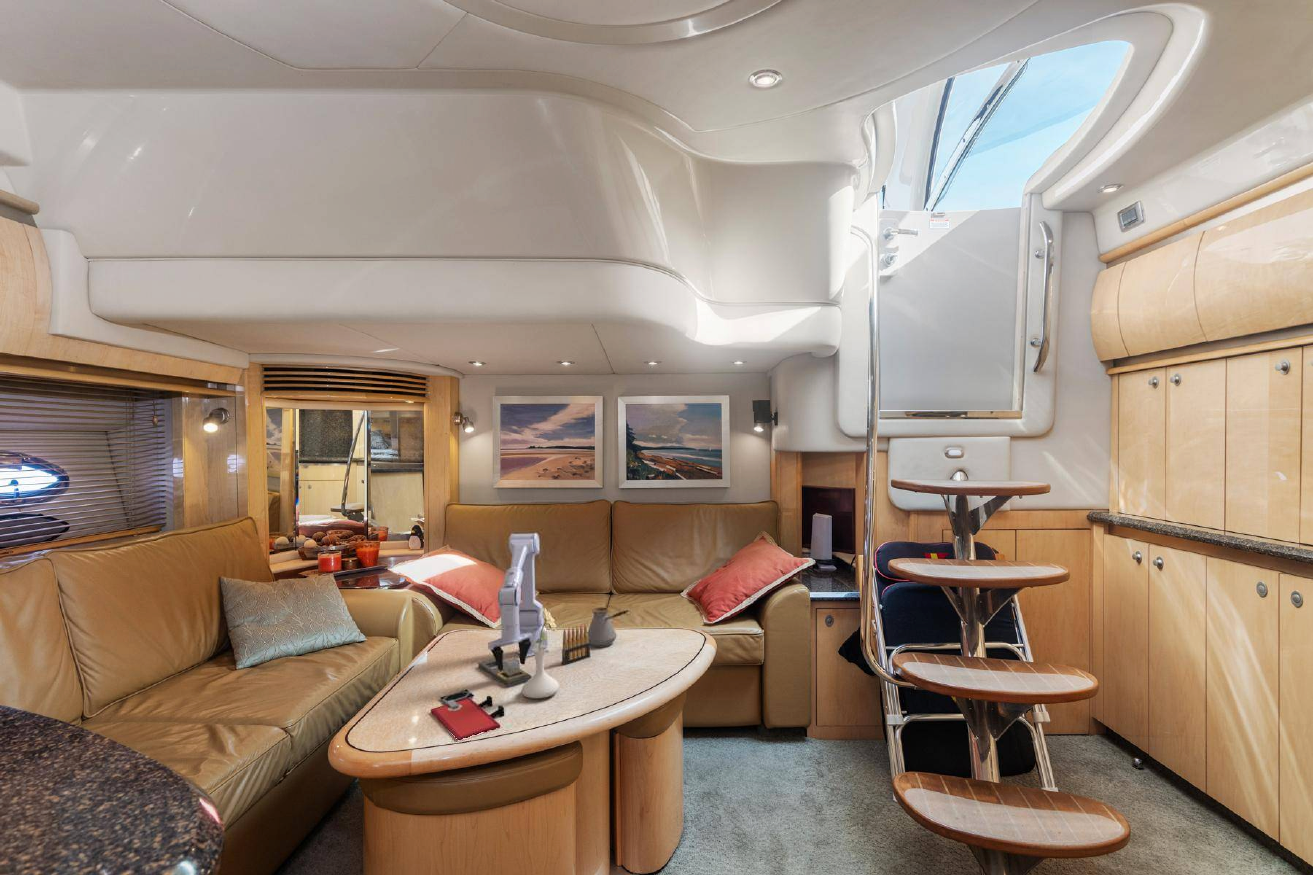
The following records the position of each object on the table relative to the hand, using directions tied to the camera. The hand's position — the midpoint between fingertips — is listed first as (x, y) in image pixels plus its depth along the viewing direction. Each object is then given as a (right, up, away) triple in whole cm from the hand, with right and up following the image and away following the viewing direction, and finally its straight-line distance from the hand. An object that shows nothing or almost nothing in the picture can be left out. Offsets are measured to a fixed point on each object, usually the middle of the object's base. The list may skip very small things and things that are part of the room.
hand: (511, 666), depth 194 cm
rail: (-4, -4, +5) cm, 7 cm away
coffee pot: (+30, -4, +29) cm, 41 cm away
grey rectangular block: (0, -4, 0) cm, 4 cm away
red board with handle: (-7, -5, -24) cm, 26 cm away
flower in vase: (+12, -4, -12) cm, 18 cm away
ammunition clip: (+19, -4, +15) cm, 24 cm away
